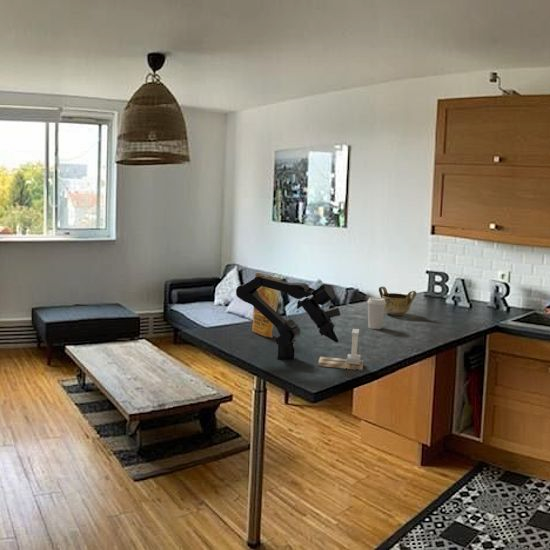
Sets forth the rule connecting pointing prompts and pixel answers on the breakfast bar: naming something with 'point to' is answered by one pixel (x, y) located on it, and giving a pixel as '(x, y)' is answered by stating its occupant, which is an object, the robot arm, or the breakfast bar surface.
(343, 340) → the breakfast bar surface
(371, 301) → the coffee cup
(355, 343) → the fader tab
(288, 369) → the breakfast bar surface
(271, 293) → the pancake mix bag
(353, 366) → the fader console
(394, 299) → the basket with handles
